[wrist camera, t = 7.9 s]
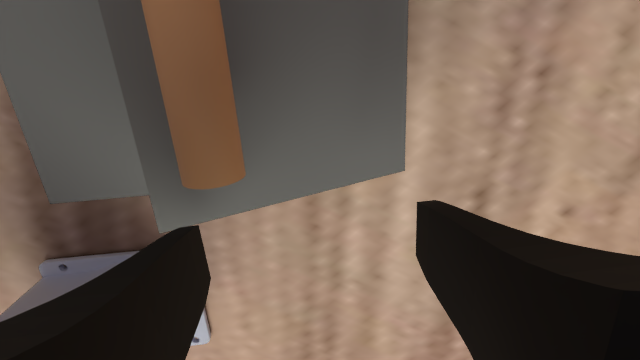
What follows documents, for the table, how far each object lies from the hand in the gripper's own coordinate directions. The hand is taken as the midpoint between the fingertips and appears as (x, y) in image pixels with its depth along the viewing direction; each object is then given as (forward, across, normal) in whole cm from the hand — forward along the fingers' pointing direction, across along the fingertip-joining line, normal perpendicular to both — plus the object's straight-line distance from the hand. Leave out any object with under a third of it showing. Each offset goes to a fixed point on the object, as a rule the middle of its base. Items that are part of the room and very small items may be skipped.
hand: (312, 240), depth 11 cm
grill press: (+5, 0, -7) cm, 8 cm away
